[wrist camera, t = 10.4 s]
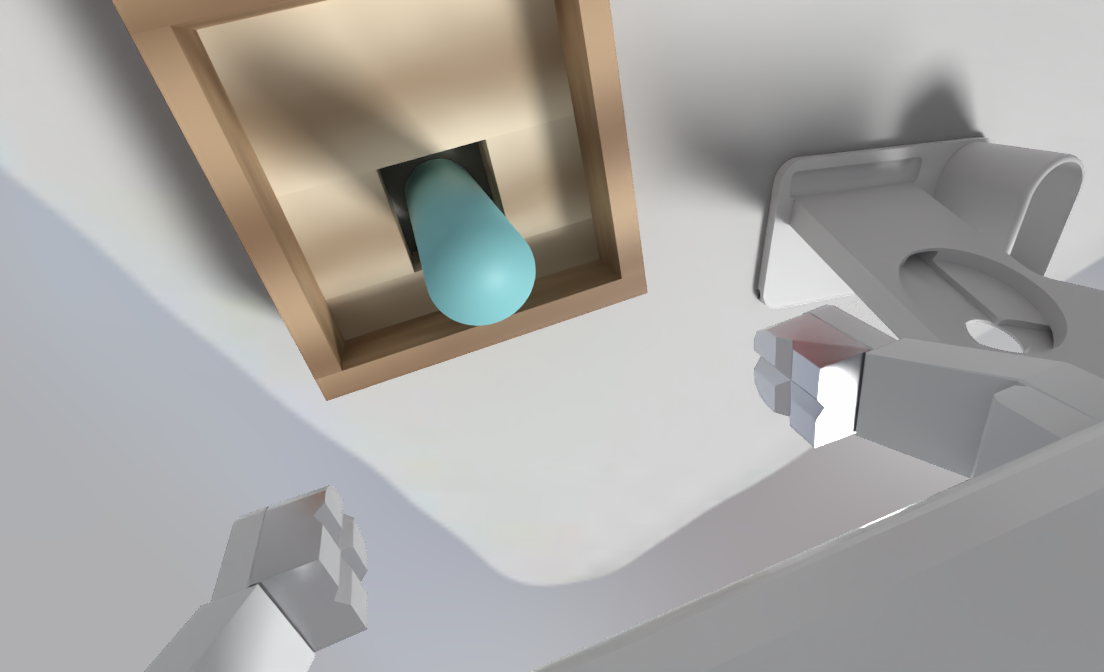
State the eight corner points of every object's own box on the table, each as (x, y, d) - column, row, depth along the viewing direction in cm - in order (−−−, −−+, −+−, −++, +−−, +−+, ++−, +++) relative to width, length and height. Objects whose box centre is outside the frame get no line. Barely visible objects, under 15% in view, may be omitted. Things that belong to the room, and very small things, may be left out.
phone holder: (996, 134, 36) (1448, 191, 21) (950, 274, 41) (1292, 402, 26) (776, 159, 32) (1138, 250, 17) (753, 310, 37) (1021, 487, 22)
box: (169, 6, 21) (106, -10, 16) (546, -76, 24) (594, -113, 19) (334, 341, 29) (326, 400, 24) (603, 255, 32) (647, 292, 27)
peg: (394, 169, 26) (409, 240, 16) (464, 150, 27) (521, 206, 17) (418, 237, 28) (445, 339, 18) (483, 218, 29) (545, 306, 19)
